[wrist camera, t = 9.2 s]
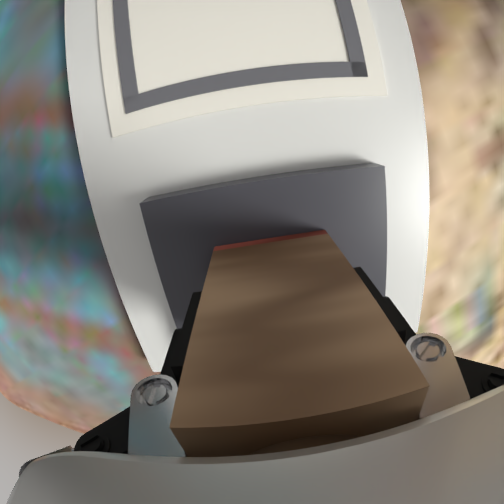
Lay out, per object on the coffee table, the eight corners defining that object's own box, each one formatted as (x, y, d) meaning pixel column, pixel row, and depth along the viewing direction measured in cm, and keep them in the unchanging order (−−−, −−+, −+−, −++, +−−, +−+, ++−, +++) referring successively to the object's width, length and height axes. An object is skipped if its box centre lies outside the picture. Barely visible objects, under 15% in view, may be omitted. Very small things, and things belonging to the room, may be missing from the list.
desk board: (353, -90, 7) (363, -108, 5) (410, 322, 17) (425, 343, 15) (75, -45, 8) (58, -59, 6) (156, 361, 18) (148, 385, 15)
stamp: (324, 229, 12) (464, 449, 3) (329, 321, 14) (399, 524, 4) (214, 246, 12) (154, 501, 3) (234, 335, 14) (225, 551, 5)
